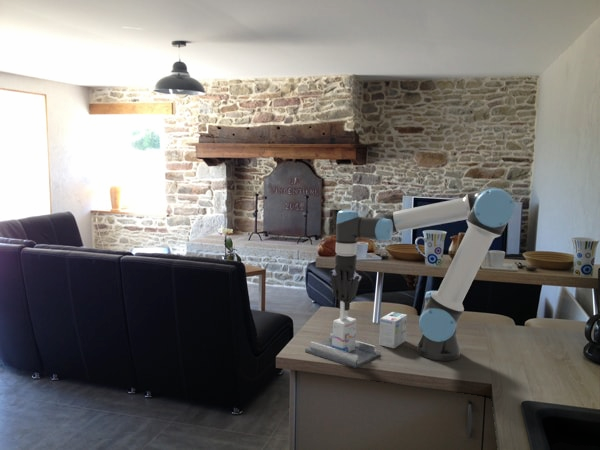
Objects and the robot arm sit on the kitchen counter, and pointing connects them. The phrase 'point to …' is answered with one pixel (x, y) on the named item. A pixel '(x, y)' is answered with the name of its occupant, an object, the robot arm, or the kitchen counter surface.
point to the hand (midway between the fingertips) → (343, 318)
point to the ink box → (344, 334)
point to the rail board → (352, 358)
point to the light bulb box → (393, 329)
